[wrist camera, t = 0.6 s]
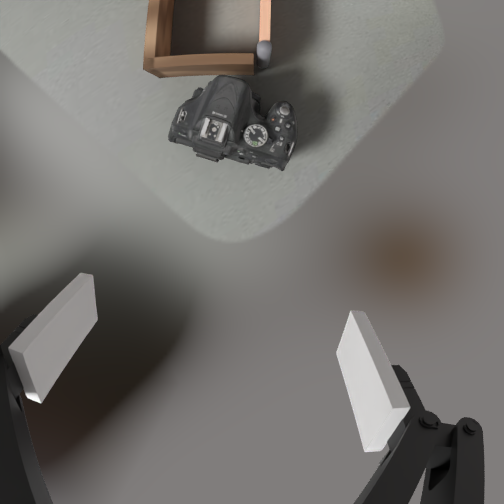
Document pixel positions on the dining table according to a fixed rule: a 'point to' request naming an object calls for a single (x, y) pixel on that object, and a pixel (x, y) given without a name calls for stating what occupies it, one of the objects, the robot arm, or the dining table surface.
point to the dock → (184, 65)
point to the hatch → (264, 35)
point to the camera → (235, 125)
